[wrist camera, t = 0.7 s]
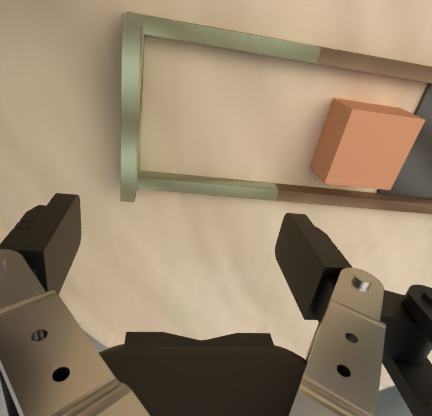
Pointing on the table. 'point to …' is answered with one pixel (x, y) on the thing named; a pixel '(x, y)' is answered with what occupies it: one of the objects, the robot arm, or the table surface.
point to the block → (364, 144)
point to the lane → (134, 179)
